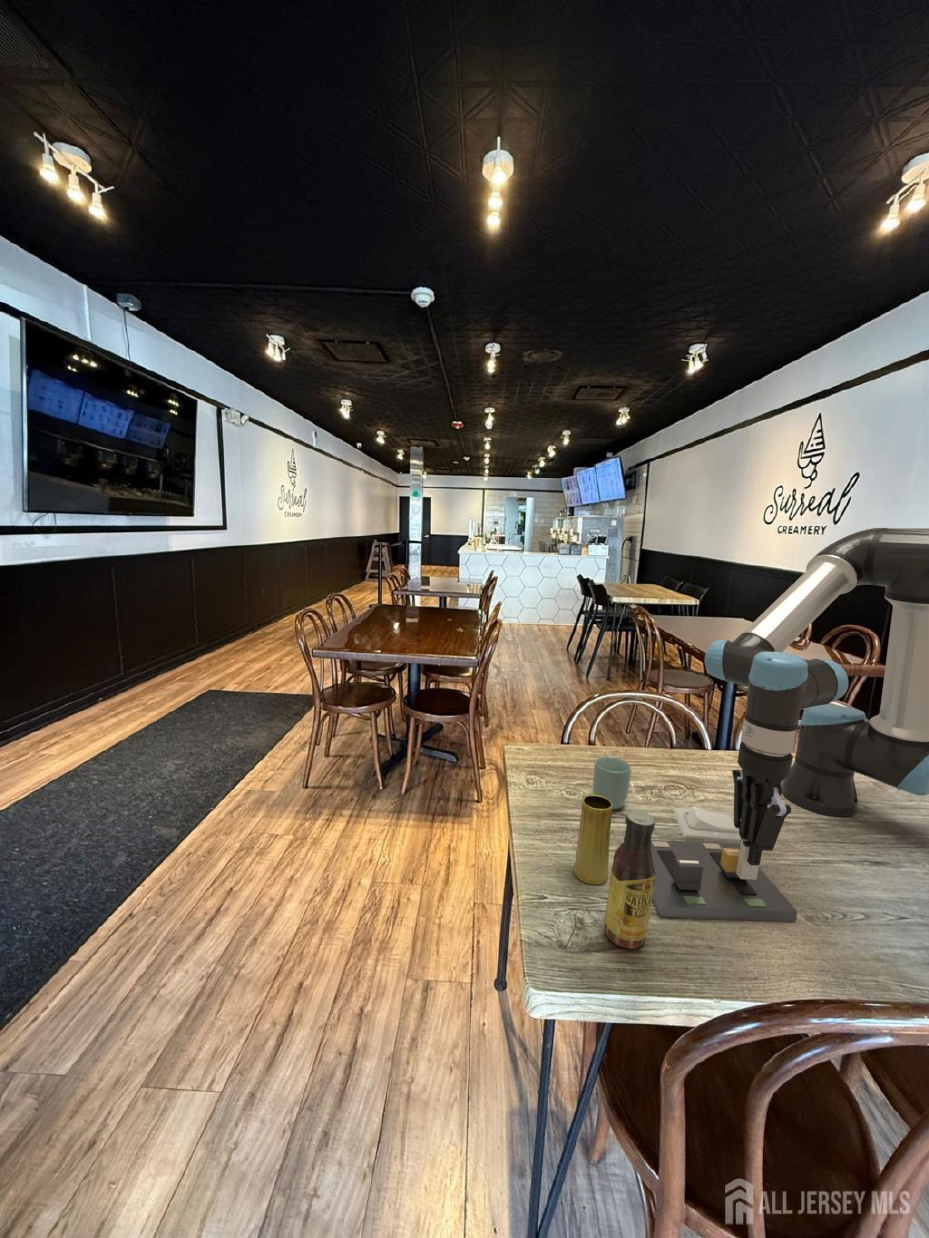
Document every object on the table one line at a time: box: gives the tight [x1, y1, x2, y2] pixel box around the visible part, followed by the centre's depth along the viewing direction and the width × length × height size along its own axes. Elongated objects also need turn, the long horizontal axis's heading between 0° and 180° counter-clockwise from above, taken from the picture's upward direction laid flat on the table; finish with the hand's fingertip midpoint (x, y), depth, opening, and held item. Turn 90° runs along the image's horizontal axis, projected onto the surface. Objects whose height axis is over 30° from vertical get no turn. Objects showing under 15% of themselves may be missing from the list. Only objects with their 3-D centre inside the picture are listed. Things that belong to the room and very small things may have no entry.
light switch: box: [673, 806, 741, 844], centre depth 109 cm, size 11×4×13 cm
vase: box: [573, 793, 614, 885], centre depth 91 cm, size 6×6×14 cm
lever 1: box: [672, 859, 703, 890], centre depth 87 cm, size 4×3×4 cm
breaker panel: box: [651, 839, 798, 923], centre depth 91 cm, size 22×18×2 cm
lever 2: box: [720, 848, 739, 878], centre depth 90 cm, size 4×3×4 cm
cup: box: [592, 756, 632, 811], centre depth 115 cm, size 8×8×10 cm
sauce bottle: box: [604, 810, 656, 950], centre depth 77 cm, size 7×6×20 cm
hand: (746, 876), depth 87 cm, fingers closed
